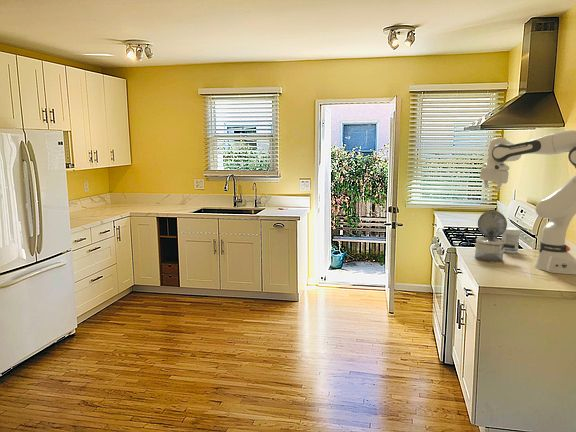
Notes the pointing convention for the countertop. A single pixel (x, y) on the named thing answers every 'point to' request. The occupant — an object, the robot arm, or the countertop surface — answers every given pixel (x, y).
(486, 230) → the cooker lid
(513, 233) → the supplement tub
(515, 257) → the countertop surface
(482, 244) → the cooker pot
